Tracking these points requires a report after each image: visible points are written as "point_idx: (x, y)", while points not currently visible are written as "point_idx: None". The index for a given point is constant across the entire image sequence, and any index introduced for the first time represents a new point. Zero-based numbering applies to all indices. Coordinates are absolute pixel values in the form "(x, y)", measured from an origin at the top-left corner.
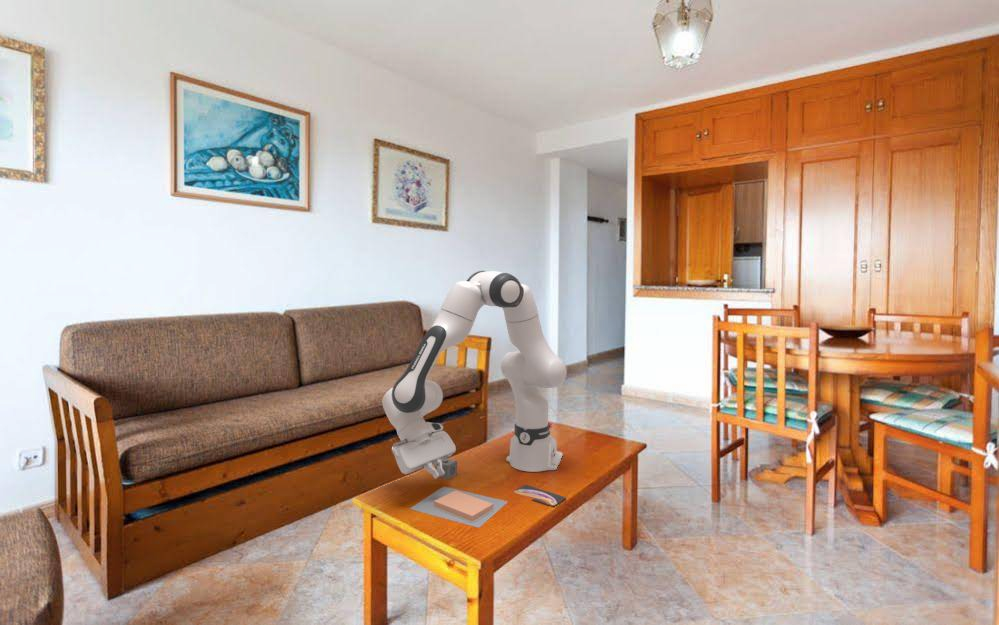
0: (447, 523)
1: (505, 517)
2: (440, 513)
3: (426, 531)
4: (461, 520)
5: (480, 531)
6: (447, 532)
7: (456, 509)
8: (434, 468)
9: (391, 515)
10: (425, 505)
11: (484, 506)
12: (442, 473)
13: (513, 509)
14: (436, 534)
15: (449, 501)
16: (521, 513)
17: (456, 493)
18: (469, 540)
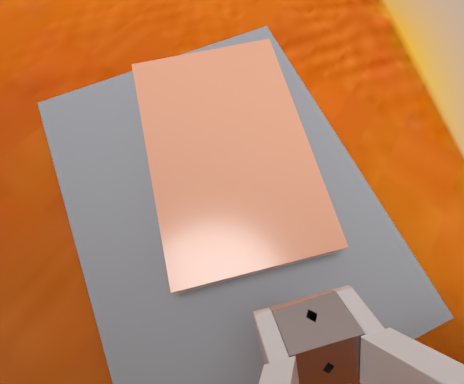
0: (339, 115)
1: (140, 38)
2: (335, 182)
3: (434, 112)
4: (290, 90)
5: (269, 20)
6: (368, 69)
7: (293, 111)
8: (394, 351)
9: None
10: (365, 298)
11: (178, 67)
12: (282, 304)
13: (71, 61)
14: (408, 79)
15: (279, 193)
16: (76, 28)
17: (192, 252)
18: (328, 3)
